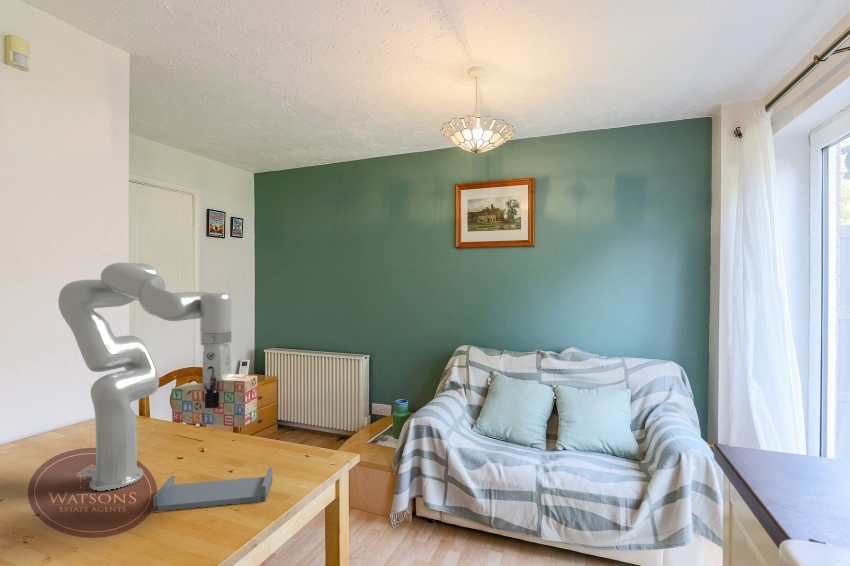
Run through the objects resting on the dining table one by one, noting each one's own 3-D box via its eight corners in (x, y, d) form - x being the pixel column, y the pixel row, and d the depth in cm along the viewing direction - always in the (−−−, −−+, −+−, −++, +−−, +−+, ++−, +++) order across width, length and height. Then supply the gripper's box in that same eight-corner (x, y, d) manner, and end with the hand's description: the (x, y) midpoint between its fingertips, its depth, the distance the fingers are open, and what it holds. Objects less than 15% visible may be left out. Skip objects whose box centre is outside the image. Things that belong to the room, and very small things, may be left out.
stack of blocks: (171, 423, 111) (170, 377, 111) (187, 415, 117) (187, 372, 117) (245, 427, 108) (244, 380, 108) (258, 419, 114) (257, 374, 114)
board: (153, 512, 105) (153, 496, 105) (170, 490, 116) (170, 476, 116) (265, 501, 110) (265, 486, 110) (272, 481, 121) (272, 467, 121)
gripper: (222, 343, 104) (222, 412, 105) (238, 333, 122) (239, 393, 122) (189, 344, 103) (190, 414, 103) (211, 334, 120) (211, 394, 120)
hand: (216, 402), depth 113 cm, fingers closed on stack of blocks, 7 cm apart
